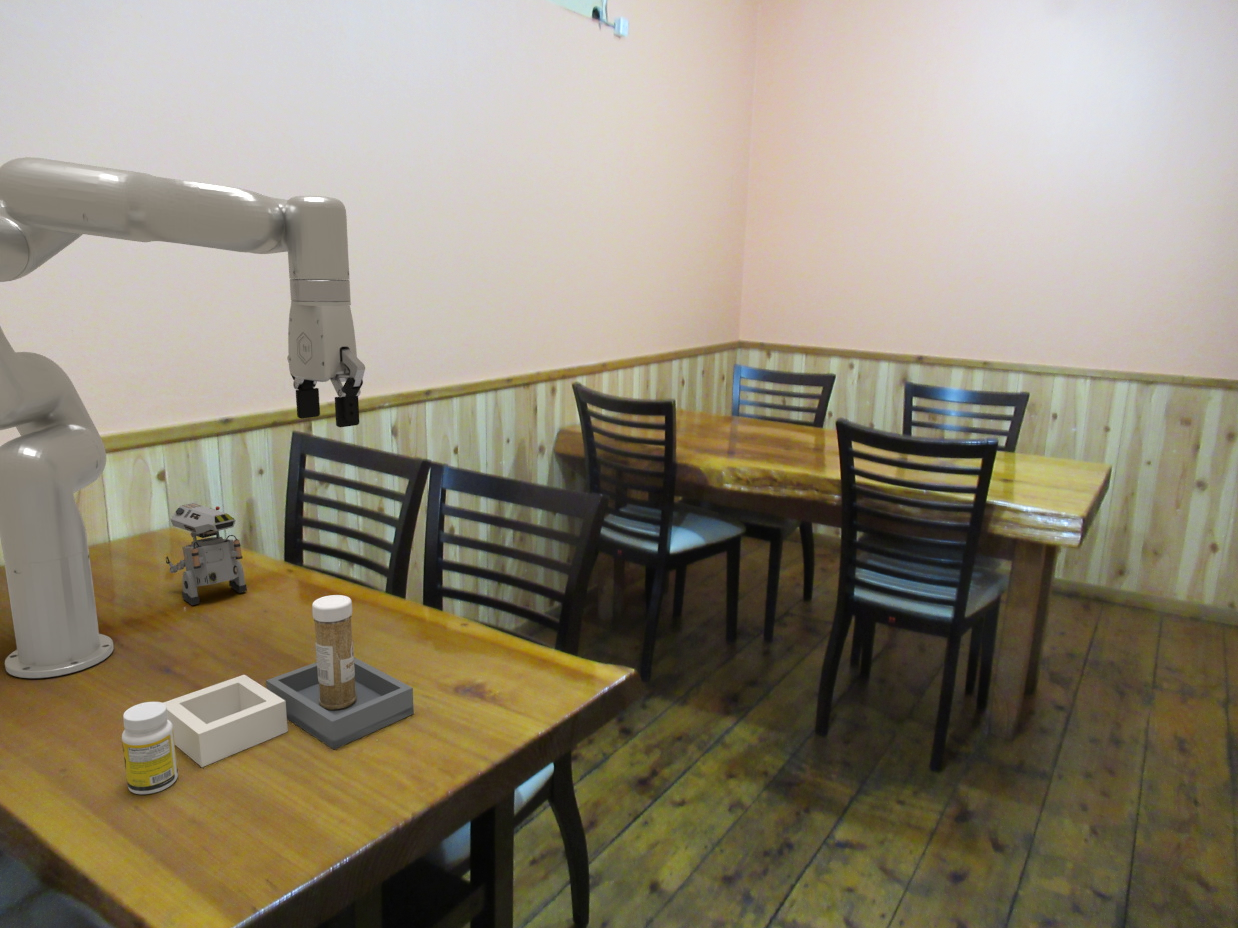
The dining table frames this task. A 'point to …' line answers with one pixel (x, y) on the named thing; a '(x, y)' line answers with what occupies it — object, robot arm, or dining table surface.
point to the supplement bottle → (149, 748)
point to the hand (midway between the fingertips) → (327, 421)
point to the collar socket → (225, 719)
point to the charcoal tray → (370, 712)
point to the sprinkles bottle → (334, 651)
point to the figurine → (207, 551)
